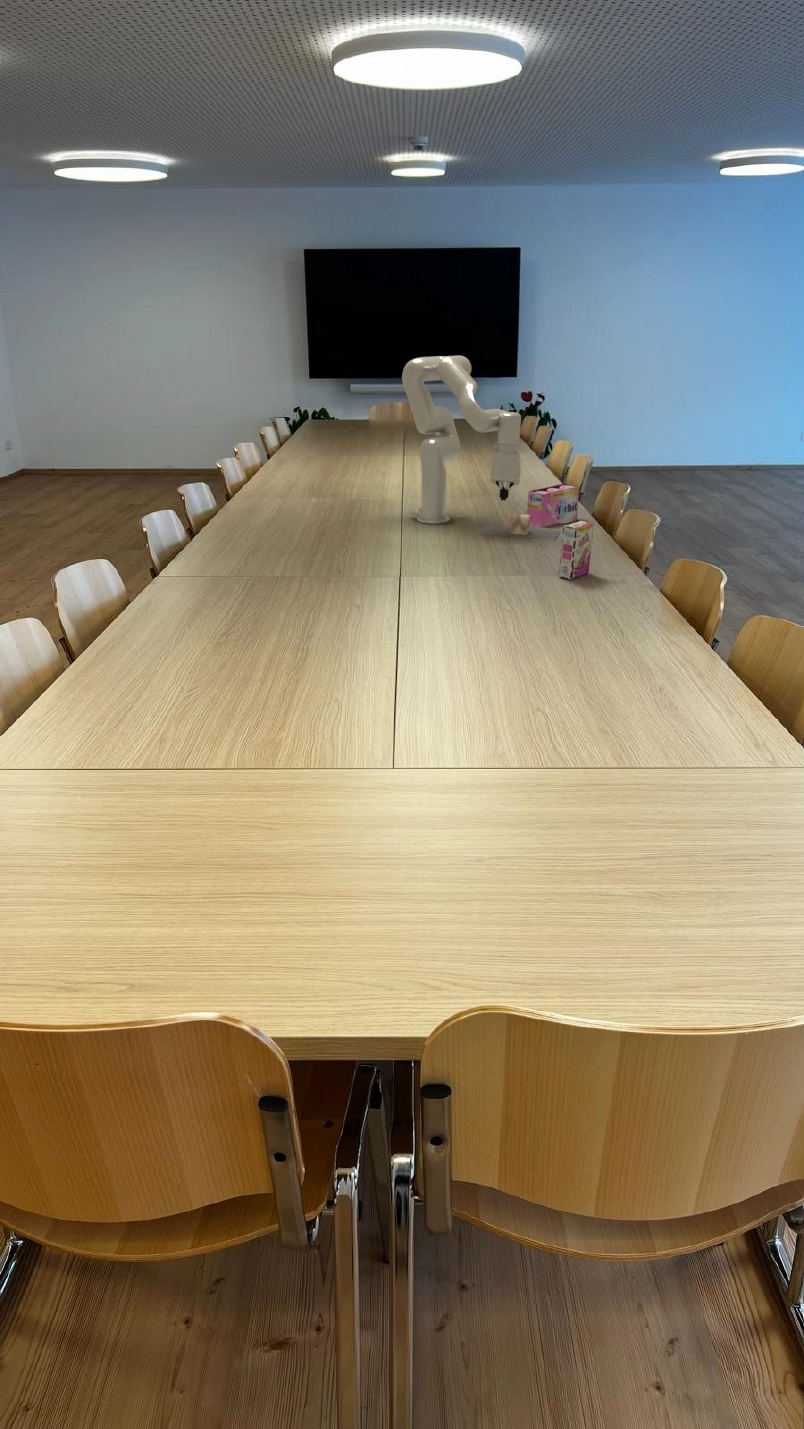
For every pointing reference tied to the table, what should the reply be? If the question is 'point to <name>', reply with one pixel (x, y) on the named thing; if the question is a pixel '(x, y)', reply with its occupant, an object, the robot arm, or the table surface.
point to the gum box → (553, 505)
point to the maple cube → (519, 524)
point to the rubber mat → (531, 534)
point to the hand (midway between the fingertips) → (503, 499)
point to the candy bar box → (576, 550)
